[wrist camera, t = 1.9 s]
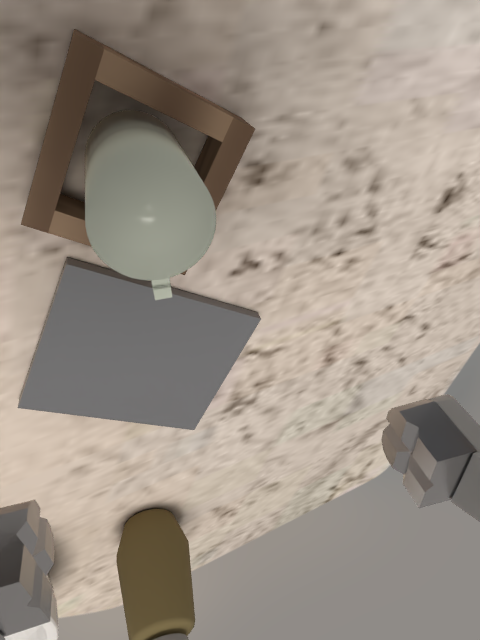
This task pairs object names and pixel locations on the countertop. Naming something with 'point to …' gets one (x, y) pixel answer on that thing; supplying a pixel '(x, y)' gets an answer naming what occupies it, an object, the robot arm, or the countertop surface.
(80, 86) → the walnut holder
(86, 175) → the pale green mug
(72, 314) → the charcoal tile
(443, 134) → the countertop surface
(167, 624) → the squeeze bottle
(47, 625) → the bowl
